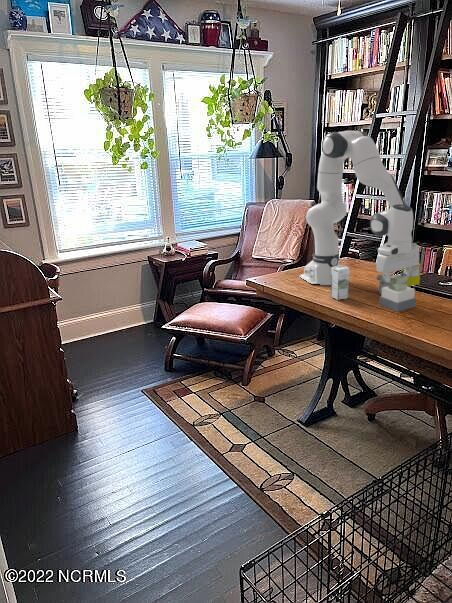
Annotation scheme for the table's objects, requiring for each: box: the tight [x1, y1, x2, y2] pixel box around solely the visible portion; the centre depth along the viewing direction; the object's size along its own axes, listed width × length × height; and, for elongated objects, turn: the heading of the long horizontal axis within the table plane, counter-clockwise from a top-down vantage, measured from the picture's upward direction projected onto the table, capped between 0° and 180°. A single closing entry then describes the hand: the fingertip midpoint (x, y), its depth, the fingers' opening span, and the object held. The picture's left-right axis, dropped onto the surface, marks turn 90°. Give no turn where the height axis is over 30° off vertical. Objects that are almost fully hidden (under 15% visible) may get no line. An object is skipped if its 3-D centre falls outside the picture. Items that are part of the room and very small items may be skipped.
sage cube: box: [388, 274, 408, 292], centre depth 184 cm, size 5×5×5 cm
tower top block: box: [380, 286, 416, 303], centre depth 186 cm, size 9×9×4 cm
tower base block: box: [378, 296, 417, 313], centre depth 187 cm, size 10×10×4 cm
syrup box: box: [330, 264, 350, 301], centre depth 199 cm, size 6×6×14 cm
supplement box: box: [403, 262, 422, 287], centre depth 208 cm, size 6×6×11 cm
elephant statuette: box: [376, 273, 394, 295], centre depth 204 cm, size 9×12×8 cm
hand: (397, 279), depth 184 cm, fingers open, 8 cm apart
